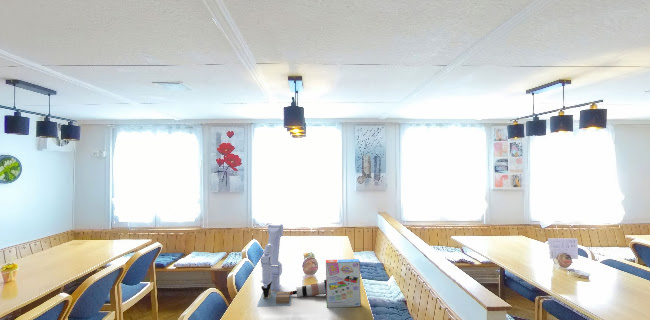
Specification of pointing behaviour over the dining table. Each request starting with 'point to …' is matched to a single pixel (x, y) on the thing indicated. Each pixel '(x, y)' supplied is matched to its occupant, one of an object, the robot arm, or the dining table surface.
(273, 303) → the mat
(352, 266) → the game box
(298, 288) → the cable
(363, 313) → the dining table surface
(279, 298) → the walnut base
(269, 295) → the maple cube
